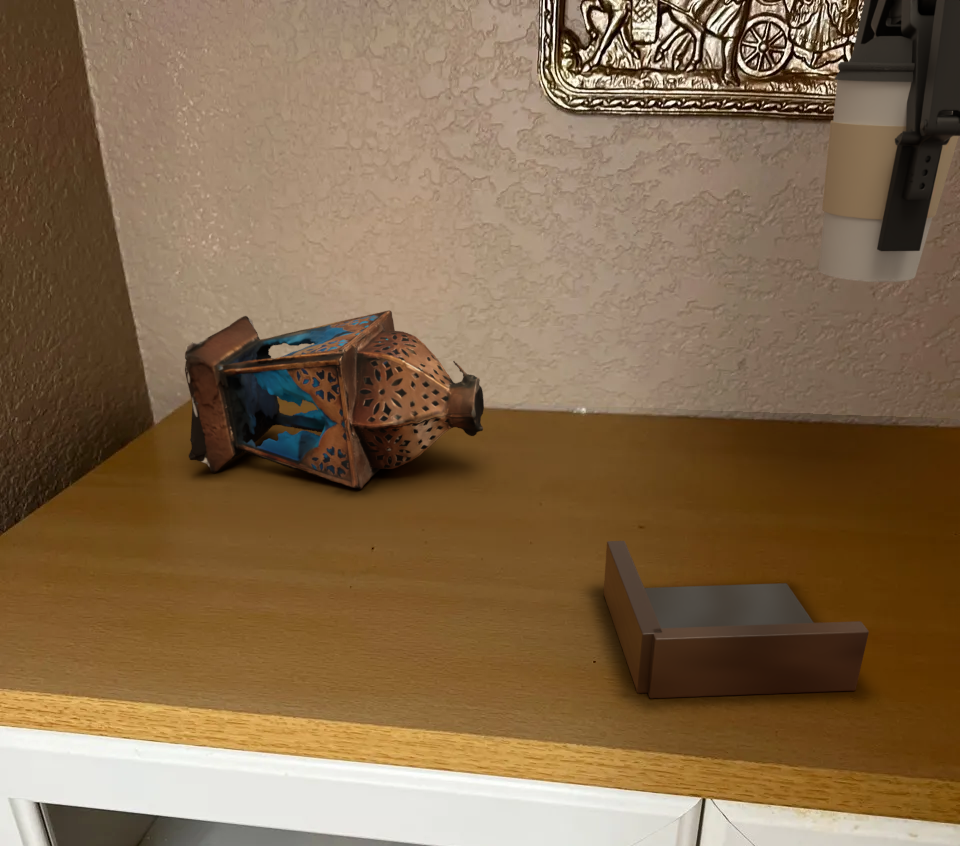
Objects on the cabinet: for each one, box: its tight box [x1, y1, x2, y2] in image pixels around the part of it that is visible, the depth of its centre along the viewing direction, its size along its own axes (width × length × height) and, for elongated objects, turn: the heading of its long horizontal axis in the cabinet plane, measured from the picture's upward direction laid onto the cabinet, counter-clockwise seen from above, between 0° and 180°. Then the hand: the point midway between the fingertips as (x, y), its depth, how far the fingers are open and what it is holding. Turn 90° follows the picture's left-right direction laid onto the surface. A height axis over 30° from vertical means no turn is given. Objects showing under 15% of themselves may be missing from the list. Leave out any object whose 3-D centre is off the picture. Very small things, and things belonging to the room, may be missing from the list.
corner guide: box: [603, 540, 870, 699], centre depth 60 cm, size 13×13×4 cm
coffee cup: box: [817, 36, 960, 283], centre depth 69 cm, size 9×9×15 cm
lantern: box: [184, 310, 485, 490], centre depth 85 cm, size 16×16×25 cm
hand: (872, 238), depth 72 cm, fingers closed on coffee cup, 9 cm apart
